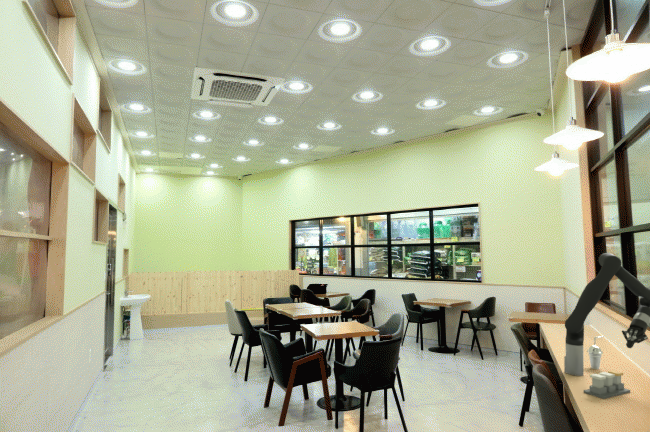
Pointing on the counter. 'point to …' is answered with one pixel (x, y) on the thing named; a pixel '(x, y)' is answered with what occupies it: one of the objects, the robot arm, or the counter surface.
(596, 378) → the front key
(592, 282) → the robot arm
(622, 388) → the keypad
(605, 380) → the middle key
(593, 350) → the cup with straw
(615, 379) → the amber key
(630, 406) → the counter surface
